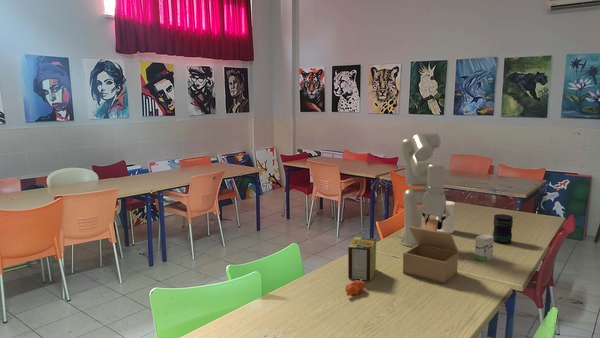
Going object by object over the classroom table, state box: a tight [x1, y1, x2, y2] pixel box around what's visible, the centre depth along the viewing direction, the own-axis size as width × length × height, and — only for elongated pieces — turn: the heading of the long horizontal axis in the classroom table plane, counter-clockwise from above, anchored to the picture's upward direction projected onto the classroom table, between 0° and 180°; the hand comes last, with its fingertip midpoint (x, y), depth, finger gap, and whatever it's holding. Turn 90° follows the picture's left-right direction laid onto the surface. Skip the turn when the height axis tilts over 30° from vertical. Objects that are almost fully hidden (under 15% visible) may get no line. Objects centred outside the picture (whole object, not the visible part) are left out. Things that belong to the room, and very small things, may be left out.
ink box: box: [474, 233, 494, 262], centre depth 226 cm, size 9×5×12 cm, turn 123°
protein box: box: [347, 236, 377, 282], centre depth 208 cm, size 10×15×16 cm
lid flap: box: [409, 217, 459, 253], centre depth 210 cm, size 20×16×7 cm
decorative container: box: [435, 200, 456, 234], centre depth 274 cm, size 12×12×18 cm
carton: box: [402, 244, 459, 285], centre depth 208 cm, size 20×16×10 cm
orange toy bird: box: [345, 279, 366, 297], centre depth 188 cm, size 5×8×12 cm
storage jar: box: [492, 213, 514, 245], centre depth 252 cm, size 10×10×15 cm
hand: (433, 227), depth 207 cm, fingers closed on lid flap, 5 cm apart
